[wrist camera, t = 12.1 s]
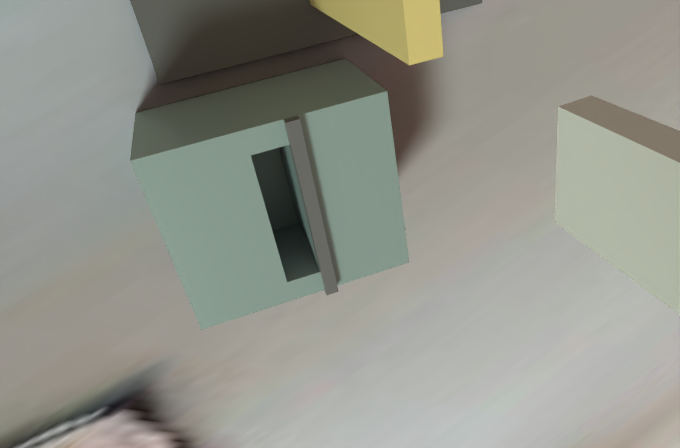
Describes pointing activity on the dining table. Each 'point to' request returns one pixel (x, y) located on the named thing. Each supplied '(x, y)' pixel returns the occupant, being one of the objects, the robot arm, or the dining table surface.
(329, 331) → the dining table surface
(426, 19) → the pale yellow plank
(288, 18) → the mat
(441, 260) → the dining table surface
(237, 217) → the dispenser
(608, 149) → the robot arm
